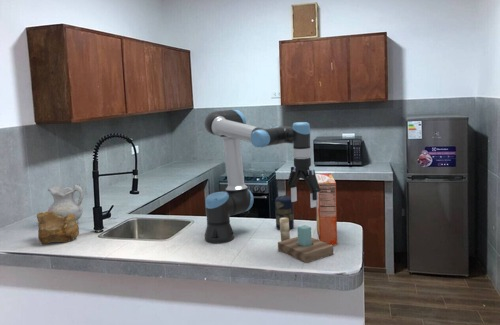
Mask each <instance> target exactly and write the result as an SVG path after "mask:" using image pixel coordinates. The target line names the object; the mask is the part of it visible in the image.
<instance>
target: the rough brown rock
mask: <svg viewBox="0 0 500 325" xmlns="http://www.w3.org/2000/svg"><path fill="white" fill-rule="evenodd" d="M36 219H37V222H38V225H37V226H38V232H37V233H38V235H37V236H38V239H39V241H40V244H41V245H47V244H49V243H54V242H56V243H58V242H59V243H69V242H70V241H73V240H75V239H76V238H77V237H78V236H79V234H80V229H79V223H78V222H77V221H76V219H75V215H73V214H68V215H67V216H65V217H61V216H58V215H56V214H55V213H54V212H53V211H48V210H47V211H45V212H39V213H37V214H36ZM76 222H77V223H78V224H77V223H76Z"/></svg>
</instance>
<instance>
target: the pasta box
mask: <svg viewBox="0 0 500 325" xmlns="http://www.w3.org/2000/svg"><path fill="white" fill-rule="evenodd" d="M315 176H316V179H317V182H318V185H319V188H320V192H317V200H316V207H315V209H316V211H315V212H316V213H315V214H316V233H317V236H318V237H317V238H318V240H319V241H322V242H325V243H327V244H330V245H332V246H334V245H335V246H337V245H338V226H337V225H338V222H337V221H338V218H337V182H336V180H335V179H334V178H335V177H333V174H332V173H315Z"/></svg>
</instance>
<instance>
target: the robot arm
mask: <svg viewBox="0 0 500 325" xmlns="http://www.w3.org/2000/svg"><path fill="white" fill-rule="evenodd" d="M203 125H204V128H205V129H204V130H206V132H208V133H209V134H210V135H213V136H217V137H220V138H221V139H222V140H223V147H224V148H223V149H224V156H225V168H226V177H227V178H226V179H227V187H225V191H215V192H212V193H210V194H208V195H207V196H206V197H205V213H206V227H205V232H204V241H205V242H207V243H209V244H224V243H228V242H231V241H233V240H234V239H235V233H234V229H233V227H232V225H231V218H230V217H231V216H235V215H238V214H243V213H245V212H247V211H250V210H251V208H252V207H253V204H254V194H253V193H252V191H251V189H249V187H248V186H247V185H246V184H245V177H244V176H245V175H244V168H243V164H244V163H243V157H242V144H241V141H243V142H247V143H251V145H252V146H253V147H255V148H264V147H265V148H266V147H270V146H276V145H282V144H292V146H293V150H292V151H293V153H292V154H293V158H294V159H293V166H291V167H290V173H289V176H288V180H287V182H286V185H287V186H288V187H289V189H290V197H291V202H293V203H294V202H297V201H298V194H297V193H298V192H297V191H298V190H297V184H298V182H299V181H300V179H303V180H304V181H305V182H306V185H307V186H308V188H309V190H310V195H309V197H310V198H309V199H310V202H309V203H310V208H311V209H312V208H316V200H317V192H320V188H319V185H318V182H317V179H316V175H315V174H316V170H315V169H310V167H311V165H312V158H311V126H310V123H309V122H306V121H302V122H301V121H299V122H293V124H292V126H285V125H279V126H274V127H272V128H271V127H270V128H262V127H258V126H255V125H252V124H251V125H250V124H247V120H246V117H245V114H244V113H242V111H240V110H238V109H227V110H219V111H218V110H215V111H212V112H210V113H209V114H207V116H206V117H205V119H204V123H203Z"/></svg>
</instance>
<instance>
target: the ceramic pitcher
mask: <svg viewBox="0 0 500 325" xmlns="http://www.w3.org/2000/svg"><path fill="white" fill-rule="evenodd" d="M47 191H48V192H49V193H50V194H51V196H52V199H53V203H52V204H51V205H50V206H49V207H48V209H47V211H53V212H54V213H55V214H56V215H58V216H61V217H65V216H67V215H68V214H73V215H75V219H76V223H77V224H78V225H79V222H78V220H79V219H80V218H81V217H82V216H83V208H84V207H83V205H82V203H83V199H84V191H83V189H82V187H81V185H80V184H73V188H72V187H69V186H67V187H63V185H61V184H59V185H58V184H53V185H52V186H51V187H49V188H47ZM76 191H77V192H78V193H79V196H78V200H76V199H75V193H76Z"/></svg>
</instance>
